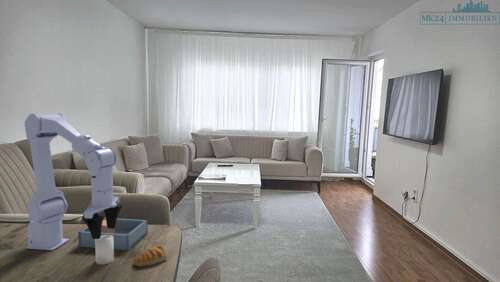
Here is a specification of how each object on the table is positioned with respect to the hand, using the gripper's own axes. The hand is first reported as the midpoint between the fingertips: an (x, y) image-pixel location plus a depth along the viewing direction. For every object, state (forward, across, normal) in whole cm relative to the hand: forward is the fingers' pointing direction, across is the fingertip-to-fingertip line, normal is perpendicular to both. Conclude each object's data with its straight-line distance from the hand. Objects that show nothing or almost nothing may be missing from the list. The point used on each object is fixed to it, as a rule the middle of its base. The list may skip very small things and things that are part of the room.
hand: (104, 233), depth 92 cm
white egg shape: (+9, 0, 0) cm, 9 cm away
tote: (+9, +14, +5) cm, 17 cm away
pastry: (+9, +2, -14) cm, 17 cm away
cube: (+8, +14, +9) cm, 18 cm away
